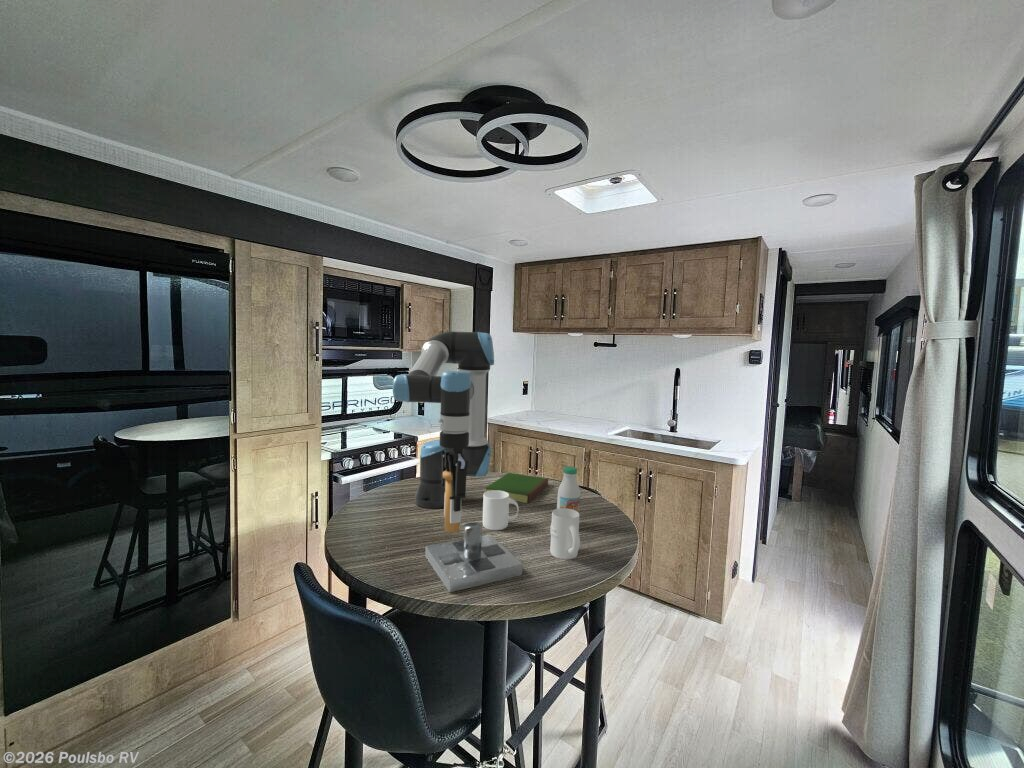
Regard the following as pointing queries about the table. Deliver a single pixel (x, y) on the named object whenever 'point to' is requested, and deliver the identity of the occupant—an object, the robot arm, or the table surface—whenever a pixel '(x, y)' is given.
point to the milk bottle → (569, 490)
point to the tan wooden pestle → (448, 493)
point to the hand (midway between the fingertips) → (452, 518)
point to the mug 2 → (565, 533)
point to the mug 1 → (497, 510)
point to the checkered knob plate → (472, 560)
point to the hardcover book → (519, 486)
